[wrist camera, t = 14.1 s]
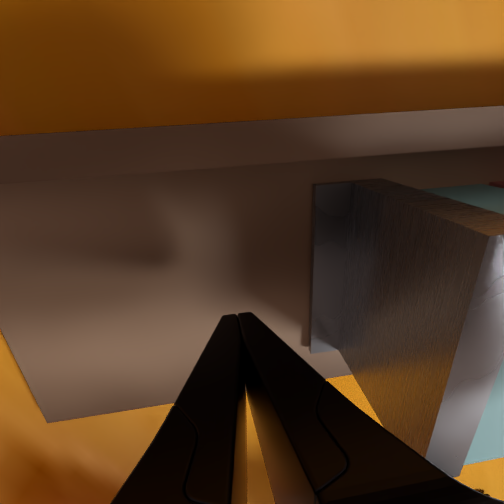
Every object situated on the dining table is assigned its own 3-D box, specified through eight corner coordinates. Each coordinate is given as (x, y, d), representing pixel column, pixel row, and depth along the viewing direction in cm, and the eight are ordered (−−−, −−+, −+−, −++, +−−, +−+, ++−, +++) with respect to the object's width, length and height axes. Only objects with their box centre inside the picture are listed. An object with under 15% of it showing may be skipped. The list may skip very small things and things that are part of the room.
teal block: (446, 318, 13) (595, 438, 8) (361, 330, 13) (463, 465, 8) (481, 183, 11) (724, 234, 6) (377, 193, 10) (541, 257, 5)
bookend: (361, 341, 13) (459, 475, 8) (308, 348, 12) (374, 493, 8) (381, 178, 10) (552, 229, 5) (313, 184, 10) (422, 244, 5)
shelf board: (540, 334, 15) (730, 453, 10) (54, 410, 13) (-64, 630, 7) (641, 97, 11) (1093, 68, 5) (-73, 141, 8) (-638, 171, 3)
